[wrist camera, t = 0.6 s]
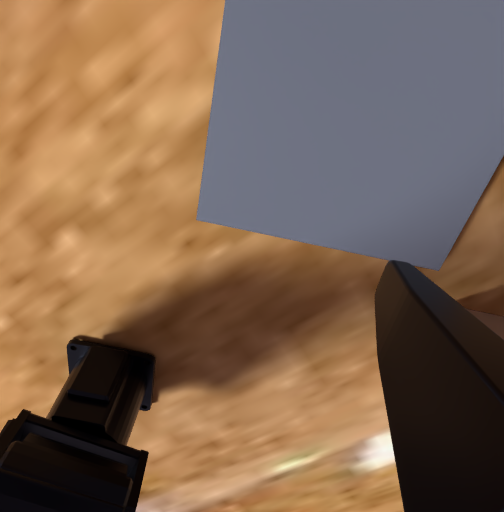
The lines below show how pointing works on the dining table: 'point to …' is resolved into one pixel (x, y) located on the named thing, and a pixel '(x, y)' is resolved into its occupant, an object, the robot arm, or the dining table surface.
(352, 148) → the build plate
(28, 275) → the dining table surface
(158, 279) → the dining table surface
